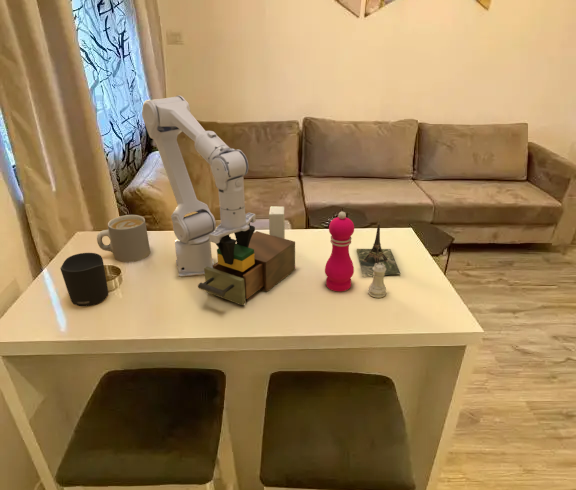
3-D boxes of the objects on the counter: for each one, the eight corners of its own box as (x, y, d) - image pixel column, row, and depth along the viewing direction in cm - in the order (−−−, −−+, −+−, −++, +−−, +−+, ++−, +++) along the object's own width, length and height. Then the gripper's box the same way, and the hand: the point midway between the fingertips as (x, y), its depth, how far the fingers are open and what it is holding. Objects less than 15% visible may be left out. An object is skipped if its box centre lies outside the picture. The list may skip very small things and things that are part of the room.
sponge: (242, 272, 113) (241, 257, 111) (217, 264, 116) (216, 249, 114) (254, 263, 116) (254, 249, 114) (230, 256, 120) (229, 241, 118)
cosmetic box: (284, 253, 138) (284, 214, 132) (269, 253, 138) (268, 214, 132) (285, 243, 143) (284, 205, 137) (270, 243, 143) (269, 205, 138)
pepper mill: (356, 281, 124) (361, 208, 114) (347, 295, 118) (352, 220, 108) (330, 275, 127) (333, 204, 117) (320, 288, 121) (322, 214, 111)
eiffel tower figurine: (401, 276, 126) (407, 229, 119) (362, 276, 126) (366, 230, 119) (390, 250, 139) (395, 207, 133) (355, 250, 139) (358, 207, 132)
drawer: (230, 315, 110) (228, 290, 106) (193, 301, 115) (190, 276, 112) (272, 282, 122) (271, 259, 119) (237, 271, 127) (235, 248, 124)
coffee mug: (152, 245, 143) (146, 213, 138) (148, 260, 134) (142, 228, 130) (105, 248, 141) (98, 216, 137) (98, 264, 133) (91, 231, 128)
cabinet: (266, 292, 120) (265, 262, 116) (227, 278, 126) (225, 249, 121) (295, 269, 130) (295, 241, 125) (257, 258, 135) (256, 231, 131)
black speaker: (61, 300, 117) (51, 264, 112) (94, 284, 124) (86, 249, 119) (85, 312, 112) (75, 275, 107) (118, 294, 119) (110, 259, 114)
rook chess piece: (387, 290, 120) (390, 262, 116) (384, 299, 116) (387, 271, 112) (369, 287, 121) (372, 259, 117) (366, 296, 118) (368, 268, 114)
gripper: (225, 220, 102) (230, 276, 108) (265, 199, 112) (266, 251, 119) (200, 213, 105) (206, 267, 112) (241, 193, 116) (244, 244, 122)
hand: (235, 258), depth 115 cm, fingers closed on sponge, 5 cm apart
